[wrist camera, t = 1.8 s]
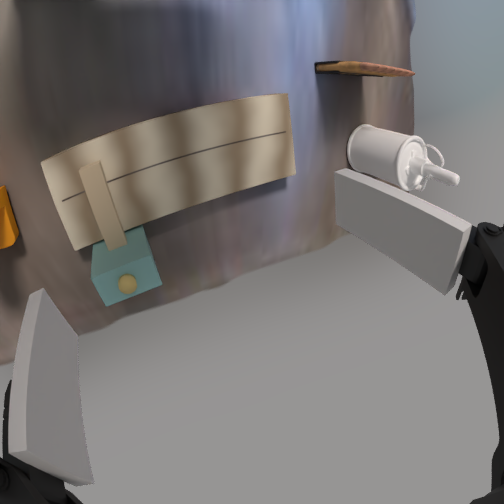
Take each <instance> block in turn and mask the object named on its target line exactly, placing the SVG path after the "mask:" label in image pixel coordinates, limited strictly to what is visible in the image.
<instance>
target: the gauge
mask: <svg viewBox="0 0 504 504" xmlns="http://www.w3.org/2000/svg"><path fill="white" fill-rule="evenodd" d="M79 174H80V177H81V180H82V183H83V186H84V189H85V191H86V194H87V197H88V200H89V203H90V205H91V208H92V211H93V213H94V216H95V219H96V221H97V224H98V226H99V229H100V231H101V234H102V236H103V240H100V241H98V242H95V243H93V251H92V265H91V280H92V282H93V284H94V286H95V287H96V289H97V291H98V293H99V295H100V297H101V298H102V300H103V302H104V304H105V305H106V307H107V306H110V305H112V304H115V303H117V302H120V301H122V300H125V299H127V298H130V297H133V296H135V295H138V294H140V293H143V292H145V291H148V290H150V289H153V288H155V287H158V286H161V285H163V284H162V282H161V279H160V276H159V273H158V270H157V267H156V264H155V261H154V258H153V255H152V252H151V248H150V245H149V243H148V240H147V237H146V234H145V231H144V228H143V226H142V224H141V225H139V226H136V227H133V228H131V229H128V230H126V231H124V230H123V227H122V224H121V221H120V219H119V216H118V213H117V210H116V208H115V205H114V202H113V199H112V196H111V193H110V190H109V187H108V184H107V181H106V177H105V174H104V171H103V168H102V164H101V161H100V160H98V161H96V162H93V163H91V164H88V165H86V166H84V167H81V168H80V170H79Z"/></svg>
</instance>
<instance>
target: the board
mask: <svg viewBox="0 0 504 504" xmlns="http://www.w3.org/2000/svg"><path fill="white" fill-rule="evenodd" d="M98 160H100V161H101V164H102V168H103V171H104V174H105V177H106V181H107V184H108V187H109V190H110V193H111V196H112V199H113V202H114V205H115V208H116V210H117V213H118V216H119V219H120V221H121V224H122V227H123V230H124V231H126V230H128V229H131V228H133V227H136V226H139V225H141V224H144V223H147V222H149V221H152V220H155V219H157V218H160V217H163V216H166V215H169V214H171V213H174V212H177V211H180V210H183V209H186V208H188V207H191V206H194V205H197V204H200V203H203V202H206V201H209V200H212V199H215V198H218V197H222V196H225V195H228V194H231V193H234V192H237V191H241V190H244V189H247V188H250V187H254V186H257V185H260V184H264V183H267V182H271V181H274V180H278V179H281V178H285V177H288V176H292V175H295V174H296V171H295V159H294V148H293V138H292V128H291V119H290V110H289V101H288V93H284V94H270V95H262V96H255V97H248V98H242V99H236V100H230V101H225V102H219V103H214V104H209V105H205V106H200V107H195V108H191V109H187V110H183V111H179V112H175V113H171V114H167V115H163V116H160V117H156V118H153V119H149V120H146V121H143V122H139V123H136V124H133V125H130V126H127V127H124V128H121V129H118V130H115V131H112V132H109V133H107V134H104V135H101V136H98V137H96V138H93V139H91V140H88V141H86V142H83V143H81V144H78V145H76V146H73V147H71V148H69V149H67V150H64V151H62V152H60V153H58V154H55V155H53V156H51V157H49V158H47V159H45V160H44V161H42V162H41V166H42V169H43V172H44V175H45V178H46V181H47V184H48V187H49V189H50V192H51V195H52V198H53V200H54V203H55V205H56V208H57V210H58V213H59V215H60V218H61V220H62V223H63V225H64V227H65V230H66V232H67V234H68V237H69V239H70V241H71V243H72V245H73V247H74V250H75V251H76V250H79V249H81V248H83V247H86V246H88V245H91V244H93V243H95V242H98V241H100V240H103V236H102V234H101V231H100V229H99V226H98V224H97V221H96V219H95V216H94V213H93V211H92V208H91V205H90V203H89V200H88V197H87V194H86V191H85V189H84V186H83V183H82V180H81V177H80V174H79V170H80V168H81V167H84V166H86V165H88V164H91V163H93V162H96V161H98Z"/></svg>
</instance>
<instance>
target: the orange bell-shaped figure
mask: <svg viewBox="0 0 504 504" xmlns="http://www.w3.org/2000/svg"><path fill="white" fill-rule="evenodd" d="M18 235H19V231H18V228H17V225H16V222H15V219H14V215H13V212H12V209H11V206H10V202H9V199H8V195H7V191H6V187H5V186H2V187H0V249H3V248H6V247H8V246H11V245H13V244H14V242H15V241H16V239H17V237H18Z"/></svg>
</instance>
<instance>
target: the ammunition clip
mask: <svg viewBox="0 0 504 504" xmlns="http://www.w3.org/2000/svg"><path fill="white" fill-rule="evenodd" d="M315 71H316V74H342V75H356V76H376V77H383V76H390V77H395V76H413V75H415V73H414V72H412V71H409V70H405V69H401V68H395V67H390V66H385V65H379V64H373V63H365V62H355V61H327V62H316V63H315Z"/></svg>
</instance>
